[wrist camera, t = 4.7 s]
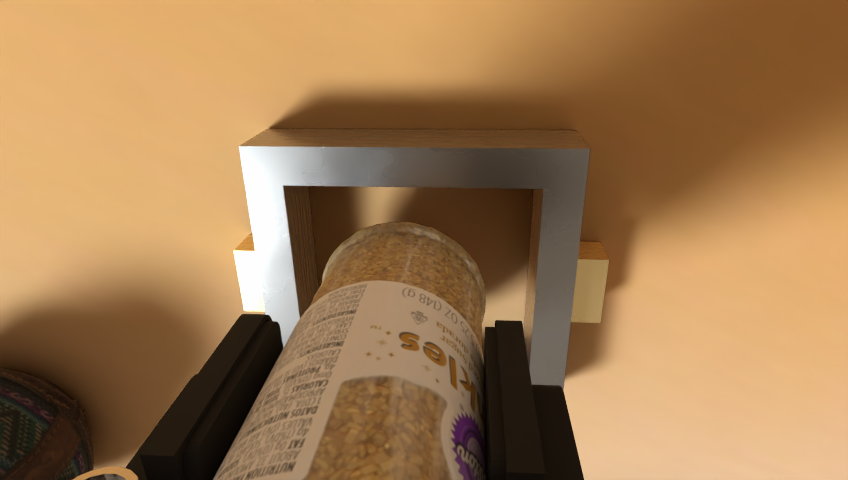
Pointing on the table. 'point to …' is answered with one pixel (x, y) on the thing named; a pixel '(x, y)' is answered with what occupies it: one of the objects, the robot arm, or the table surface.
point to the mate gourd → (40, 431)
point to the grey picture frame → (425, 167)
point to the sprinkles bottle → (377, 370)
